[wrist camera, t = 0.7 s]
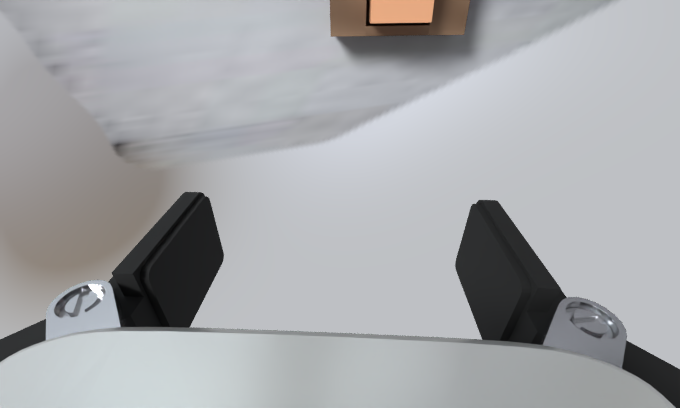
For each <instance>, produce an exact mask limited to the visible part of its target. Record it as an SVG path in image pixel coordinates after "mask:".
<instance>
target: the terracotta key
mask: <svg viewBox="0 0 680 408" xmlns="http://www.w3.org/2000/svg"><path fill="white" fill-rule="evenodd" d="M433 7H434V0H370V9H369V22H370V23H429V22H432V15H433Z"/></svg>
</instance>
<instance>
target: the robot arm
mask: <svg viewBox="0 0 680 408" xmlns="http://www.w3.org/2000/svg"><path fill="white" fill-rule="evenodd" d="M223 257H224V254H223V250H222V246H221V242H220V238H219V234H218V231H217V226H216V222H215V218H214V215H213V211H212V207H211V203H210V200H209V198H208V197H205V196H204V194H203V193H201V192H198V193H197V192H185V193H183V194H182V195H181V196H180V198H179V199H178V200H177V201H176V202H175V203H174V204H173V205H172V207H171V208H170V209H169V210H168V211H167V212H166V213H165V214H164V215H163V216H162V218H161V219H160V220H159V221H158V222H157V223H156V224H155V225H154V227H153V228H152V229H151V230H150V231H149V232H148V233H147V234H146V235H145V236H144V238H143V239H142V240H141V241H140V242H139V243H138V244H137V245H136V246H135V248H134V249H133V250H132V251H131V252H130V253H129V254H128V255H127V256H126V257H125V259H124V260H123V261H122V262H121V263H120V264H119V265H118V266H117V267H116V269H115V270H114V271H113V272H112V275H113V277H112V278H111V279H110V281H109V282H106V281H103V280H93V281H87V282H83V283H81V284H78V285H75V286H73V287H71V288H69V289H67V290H66V291H65V292H63V293H61V294H60V295H59V296H58V297H57V298H55V299H54V300H53V301H52V303H51V304H50V305H49V307H48V309H47V313H46V319H45V320H43V321H40V322H38V323H36V324H34V325H31V326H29V327H27V328H25V329H23V330H21V331H18V332H16V333H14V334H12V335H9V336H7V337H5V338H3V339H0V408H680V369H678V368H676V367H674V366H673V365H671V364H669V363H667V362H665V361H663V360H661V359H659V358H658V357H656V356H654V355H652V354H650V353H648V352H647V351H645V350H643V349H641V348H639V347H637V346H635V345H634V344H632V343H630V342H628V341H626V339H627V334H626V329H625V327H624V325H623V324H622V322H621V321H620V320H619V319H618V318H617V317H616V316H615V315H614V314H613V313H612V312H610V311H609V310H607V309H606V308H605V307H603V306H601V305H599V304H598V303H596V302H593V301H590V300H588V299H584V298H579V297H568V298H567V297H566V296H565V295H564V293H563V292H562V291H561V289H560V287H559V285H558V284H557V283H556V281H555V280H554V279H553V277H552V276H551V274H550V273H549V272H548V270H547V269H546V268H545V266H544V265H543V263H542V262H541V261H540V259H539V258H538V256H537V255H536V254H535V252H534V251H533V249H532V248H531V247H530V245H529V244H528V242H527V241H526V240H525V238H524V237H523V236H522V234H521V233H520V231H519V230H518V229H517V227H516V226H515V224H514V223H513V222H512V220H511V219H510V218H509V216H508V215H507V214H506V212H505V211H504V209H503V208H502V207H501V205H500V204H499V202H498V201H495V200H479V201H478V202H477V203H476V204H473V205H472V206H471V209H470V212H469V216H468V219H467V223H466V226H465V230H464V234H463V237H462V241H461V244H460V248H459V251H458V255H457V258H456V271H457V274H458V276H459V279H460V282H461V284H462V287H463V289H464V292H465V295H466V297H467V300H468V303H469V305H470V308H471V311H472V313H473V316H474V319H475V321H476V324H477V327H478V329H479V332H480V334H481V337H482V340H477V339H461V338H442V337H419V336H397V335H374V334H352V333H327V332H301V331H277V330H248V329H218V328H189V327H190V325H191V323H192V321H193V319H194V317H195V315H196V313H197V312H198V310H199V308H200V305H201V304H202V302H203V300H204V298H205V295H206V294H207V292H208V290H209V288H210V286H211V284H212V282H213V280H214V278H215V276H216V274H217V272H218V270H219V268H220V266H221V264H222V262H223Z"/></svg>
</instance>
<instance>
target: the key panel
mask: <svg viewBox="0 0 680 408" xmlns="http://www.w3.org/2000/svg"><path fill="white" fill-rule="evenodd" d="M469 3H470V0H434V7H433V15H432V22H429V23H370V22H369V9H370V0H330V20H331V36H404V35H464V32H465V26H466V21H467V15H468V9H469Z"/></svg>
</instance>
